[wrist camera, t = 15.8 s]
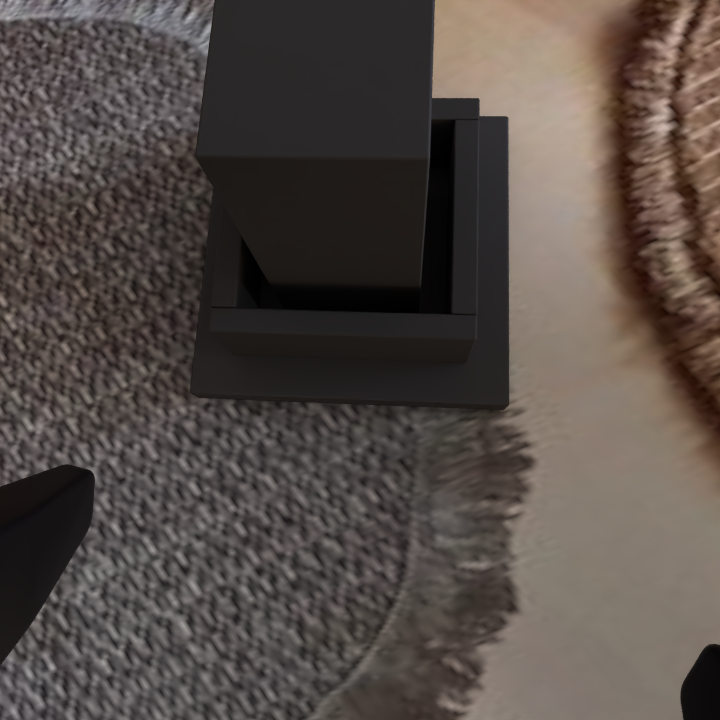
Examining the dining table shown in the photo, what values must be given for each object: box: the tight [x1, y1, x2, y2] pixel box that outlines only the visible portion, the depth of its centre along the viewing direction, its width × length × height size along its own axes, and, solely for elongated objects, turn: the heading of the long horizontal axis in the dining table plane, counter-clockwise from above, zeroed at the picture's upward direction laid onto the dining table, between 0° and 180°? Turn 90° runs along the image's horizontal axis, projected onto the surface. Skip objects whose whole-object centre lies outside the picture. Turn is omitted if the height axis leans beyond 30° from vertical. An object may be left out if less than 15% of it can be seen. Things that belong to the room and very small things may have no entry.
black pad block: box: [195, 0, 435, 313], centre depth 18 cm, size 5×5×10 cm
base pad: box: [190, 98, 509, 410], centre depth 22 cm, size 11×11×4 cm
